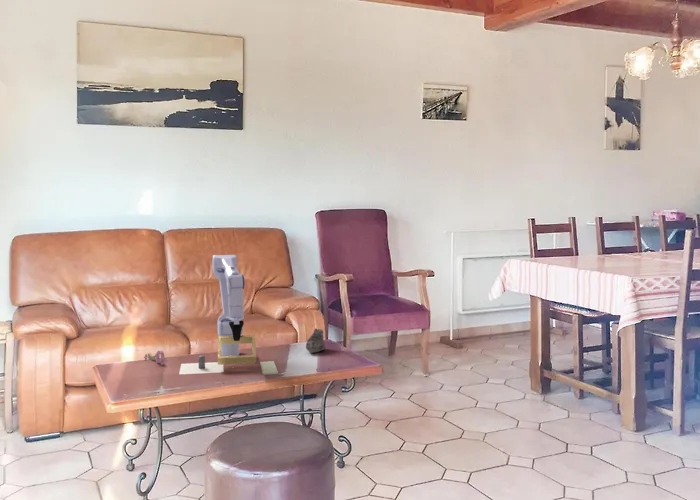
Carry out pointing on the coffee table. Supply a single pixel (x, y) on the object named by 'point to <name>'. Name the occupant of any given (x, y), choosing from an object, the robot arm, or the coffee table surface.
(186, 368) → the post stand
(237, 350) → the robot arm
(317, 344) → the mineral rock
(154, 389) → the coffee table surface
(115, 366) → the coffee table surface
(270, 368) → the mat
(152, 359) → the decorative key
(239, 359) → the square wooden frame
